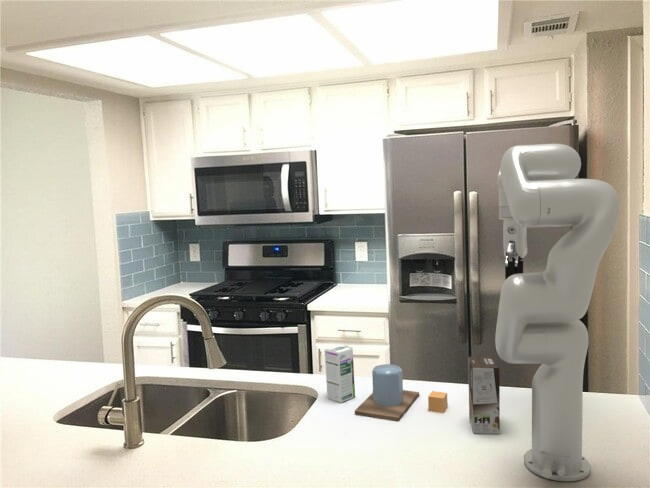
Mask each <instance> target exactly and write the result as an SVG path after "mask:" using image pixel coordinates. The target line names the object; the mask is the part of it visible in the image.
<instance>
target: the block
mask: <svg viewBox="0 0 650 488" xmlns="http://www.w3.org/2000/svg"><path fill="white" fill-rule="evenodd" d="M427 402H428V407H427V408H428V409H427V410H428V412H434V413H439V414H445V412H446V410H447V409H448V392H444V391H443V392H442V391H435V390H432V391H431V393H429V395H427Z"/></svg>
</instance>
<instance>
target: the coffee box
mask: <svg viewBox="0 0 650 488" xmlns="http://www.w3.org/2000/svg"><path fill="white" fill-rule="evenodd" d="M467 358H468V359H467V360H468V363H467V367H468V372H467V373H468V412H469V413H468V414H469V415H468V416H469V422H470V426H471V430H472V433H473V434H483V435H484V434H488V435H491V434H492V435H499V434H501V432H500V431H501V430H500V427H501V426H500V425H501V424H500V422H501V421H500V417H501V414H500V413H501V412H500V411H501V409H500V399H501V398H500V389H501V388H500V386H501V384H500V382H501V381H500V374H501V373H500V372H501V371H500V370H501V369H500V366H499V364H498V362H497V360H496V359H495V356H493V355H492V356H491V355H490V356H489V355H483V356H468V357H467Z"/></svg>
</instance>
